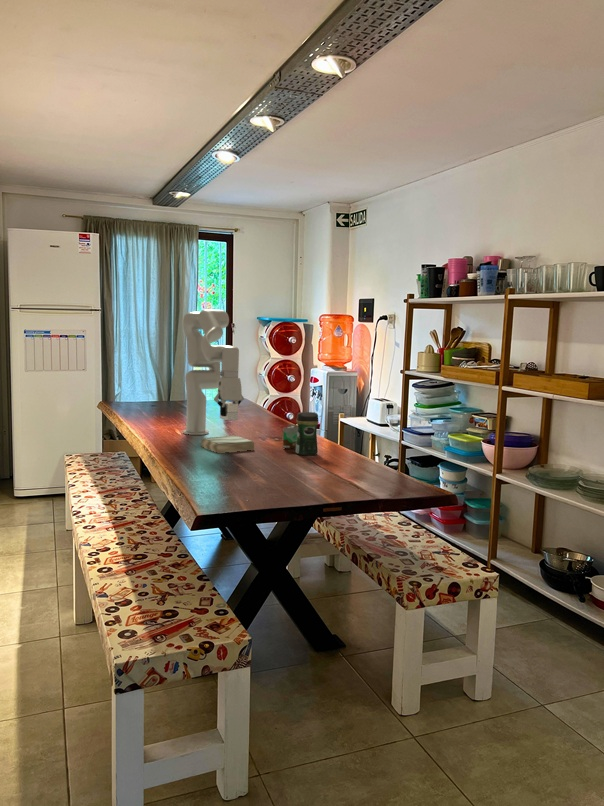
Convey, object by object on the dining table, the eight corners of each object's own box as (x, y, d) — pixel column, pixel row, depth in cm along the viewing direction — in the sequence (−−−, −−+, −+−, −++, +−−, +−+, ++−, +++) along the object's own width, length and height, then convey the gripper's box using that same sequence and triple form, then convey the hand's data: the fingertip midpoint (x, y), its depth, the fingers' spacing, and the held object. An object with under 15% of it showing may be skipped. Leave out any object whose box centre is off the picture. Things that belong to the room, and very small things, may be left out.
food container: (295, 450, 294) (296, 428, 293) (282, 449, 295) (283, 427, 294) (301, 445, 306) (302, 424, 305) (288, 444, 307) (289, 423, 306)
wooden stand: (201, 446, 294) (201, 438, 294) (236, 443, 304) (236, 435, 304) (218, 453, 281) (218, 444, 281) (254, 450, 292) (254, 441, 291)
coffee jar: (314, 451, 293) (316, 410, 291) (319, 455, 286) (321, 413, 284) (293, 452, 291) (295, 410, 289) (297, 455, 283) (299, 413, 281)
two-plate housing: (227, 420, 287) (227, 404, 286) (219, 418, 292) (220, 402, 292) (237, 419, 290) (237, 404, 289) (229, 417, 295) (230, 402, 294)
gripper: (216, 375, 281) (215, 417, 283) (250, 375, 291) (249, 415, 293) (208, 374, 287) (207, 415, 289) (242, 373, 297) (241, 413, 299)
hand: (228, 415), depth 291 cm, fingers closed on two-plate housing, 5 cm apart
